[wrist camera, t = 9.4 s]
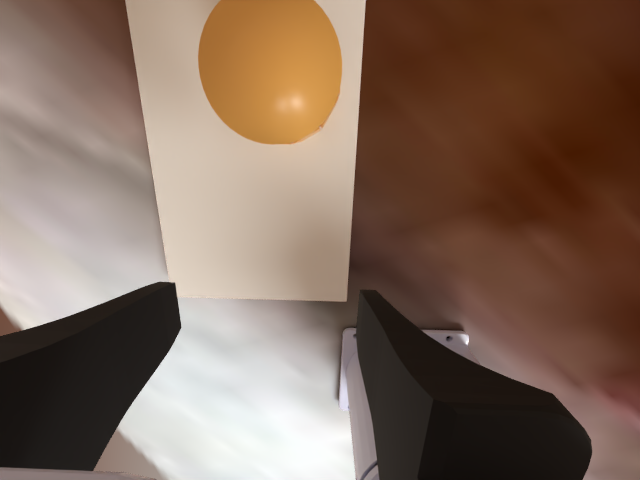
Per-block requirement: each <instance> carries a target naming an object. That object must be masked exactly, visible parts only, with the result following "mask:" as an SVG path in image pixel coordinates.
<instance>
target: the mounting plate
mask: <svg viewBox="0 0 640 480" xmlns="http://www.w3.org/2000/svg"><path fill="white" fill-rule="evenodd" d="M219 1H220V0H125V2H126V8H127V15H128V21H129V27H130V34H131V40H132V46H133V53H134V59H135V66H136V72H137V78H138V85H139V91H140V97H141V104H142V110H143V117H144V123H145V129H146V136H147V142H148V148H149V155H150V161H151V168H152V174H153V180H154V187H155V193H156V199H157V206H158V212H159V219H160V225H161V231H162V238H163V244H164V250H165V257H166V263H167V270H168V276H169V282H175V285H176V292H177V297H195V298H231V299H268V300H304V301H341V302H347V288H348V272H349V256H350V240H351V224H352V208H353V192H354V177H355V161H356V145H357V129H358V113H359V97H360V82H361V66H362V50H363V34H364V18H365V2H366V0H314V1H315V2H316V3H317V4H318V5H319V6H320V7H321V8H322V9H323V11H324V12H325V14H326V15H327V16H328V18H329V20H330V22H331V23H332V25H333V27H334V29H335V32H336V35H337V37H338V41H339V45H340V49H341V56H342V78H341V84H340V95H339V98H338V101H337V103H336V106H335V108H334V110H333V111H332V113H331V115H330V117H329V118H328V120H327V122H326V124H325V125H324V127H323V128H321V127H320V126H319V128H320V130H321V131H319V132H317V133H315V134H314V135H312V136H310V137H309V138H307V139H305V140H303V141H302V142H299V143H295V144H274V145H271V144H261V143H258V142H254V141H252V140H249V139H246V138H245V137H243V136H241V135H239V134H237V133H236V132H235V131H233V130H232V129H230V128H229V127H228V126H227V125H226V124H225V123H224V122H223V121H222V120H221V119H220V118H219V116H218V115H217V114H216V112H215V111H214V110H213V108H212V107H211V105H210V103H209V101H208V99H207V97H206V95H205V92H204V90H203V87H202V83H201V79H200V74H199V67H198V51H199V43H200V38H201V34H202V31H203V28H204V25H205V23H206V21H207V18H208V16H209V15H210V13H211V12H212V10H213V9H214V7H215V6H216V5H217V4H218V2H219Z"/></svg>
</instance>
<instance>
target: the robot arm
mask: <svg viewBox="0 0 640 480" xmlns="http://www.w3.org/2000/svg"><path fill="white" fill-rule="evenodd" d="M180 329H181V322H180V314H179V307H178V299H177V292H176V285H175V282H157V283H154V284H151V285H148V286H145V287H142V288H140V289H137V290H135V291H132V292H130V293H127V294H125V295H122V296H120V297H117V298H115V299H112V300H110V301H108V302H105V303H103V304H100V305H97V306H95V307H92V308H89V309H87V310H84V311H81V312H79V313H76V314H73V315H71V316H68V317H65V318H62V319H59V320H56V321H53V322H50V323H46V324H43V325H40V326H37V327H33V328H30V329H26V330H23V331H19V332H15V333H11V334H7V335H3V336H0V480H156V479H152V478H148V477H143V476H138V475H133V474H129V473H124V472H102V471H93V470H94V468H95V466H96V464H97V462H98V460H99V459H100V457H101V455H102V453H103V451H104V449H105V448H106V446H107V444H108V442H109V440H110V438H111V437H112V435H113V434H114V432H115V430H116V428H117V427H118V425H119V423H120V421H121V420H122V418H123V416H124V415H125V413H126V412H127V410H128V409H129V407H130V406H131V404H132V402H133V401H134V400H135V398H136V397H137V395H138V394H139V393H140V391H141V390H142V388H143V387H144V386H145V384H146V383H147V381H148V380H149V379H150V377H151V376H152V375H153V373H154V372H155V370H156V369H157V368H158V366H159V365H160V363H161V362H162V360H163V359H164V358H165V356H166V355H167V353H168V352H169V350H170V348H171V347H172V345H173V343H174V341H175V339H176V337H177V335H178V333H179V331H180ZM354 334H356V336H354ZM448 336H450V337H449V338H447V339H446V337H448ZM468 341H469V336H468V335H467V333H466V332H464V331H448V330H420V329H419V328H418V327H416V326H415V325H414V324H412V323H411V322H410V321H409V320H408V319H406V318H405V317H404V316H403V315H402V314H400V313H399V312H398V311H397V310H396V309H395V308H394V307H393V306H392V305H391V304H390V303H389V302H387V301H386V300H385V299H384V298H383V297H382V296H381V295H380V294H379V293H378V292H377V291H376V290H360V294H359V305H358V316H357V327H356V328H347V329H345V330H344V331H343V339H342V355H341V372H340V388H339V408H340V409H341V410H342V411H349V414H350V424H351V434H352V445H353V455H354V465H355V476H356V480H583V477H584V475H585V473H586V471H587V469H588V466H589V463H590V459H591V455H592V446H591V439H590V438H589V436H588V434H587V432H586V431H585V429H584V428H583V427H582V426H581V424H580V423H579V422H578V421H577V420H576V419H575V418H574V417H573V416H572V414H571V413H570V412H569V411H568V410H567V409H566V408H565V407H564V406H563V404H562V403H561V402H560V401H559V400H558V399H557V398H556V397H555V396H554V395H553V394H552V393H549V392H546V391H543V390H541V389H538V388H535V387H532V386H530V385H527V384H524V383H521V382H519V381H516V380H513V379H511V378H508V377H506V376H504V375H501V374H499V373H497V372H494V371H492V370H490V369H488V368H485V367H483V366H481V365H480V364H479V362H478V361H477V359H476V358H475V356H474V355H473V353H472V352H471V351H470V349H469V348H468V346H467V345H468Z"/></svg>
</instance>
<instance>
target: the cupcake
mask: <svg viewBox="0 0 640 480" xmlns="http://www.w3.org/2000/svg"><path fill="white" fill-rule="evenodd" d="M198 67H199V74H200V79H201V83H202V87H203V90H204V92H205V95H206V97H207V99H208V101H209V103H210V105H211V107H212V108H213V110H214V111H215V112H216V114H217V115H218V116H219V118H220V119H221V120H222V121H223V122H224V123H225V124H226V125H227V126H228V127H229V128H230V129H232V130H233V131H235V132H236V133H237V134H239V135H241V136H243V137H245V138H246V139H249V140H252V141H254V142H258V143H261V144H271V145H274V144H295V143H299V142H302V141H303V140H305V139H307V138H309V137H310V136H312V135H314V134H315V133H317V132H319V131H321V130H320V128H319V126H320V127H321V128H323V127H324V125H325V124H326V122H327V120H328V118H329V117H330V115H331V113H332V111H333V110H334V108H335V106H336V103H337V101H338V98H339V95H340V84H341V78H342V56H341V49H340V45H339V41H338V37H337V35H336V32H335V29H334V27H333V25H332V23H331V22H330V20H329V18H328V16H327V15H326V14H325V12H324V11H323V9H322V8H321V7H320V6H319V5H318V4H317V3H316V2H315V1H314V0H220V1H219V2H218V4H217V5H216V6H215V7H214V9H213V10H212V12H211V13H210V15H209V16H208V18H207V21H206V23H205V25H204V28H203V31H202V34H201V38H200V43H199V51H198Z"/></svg>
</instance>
